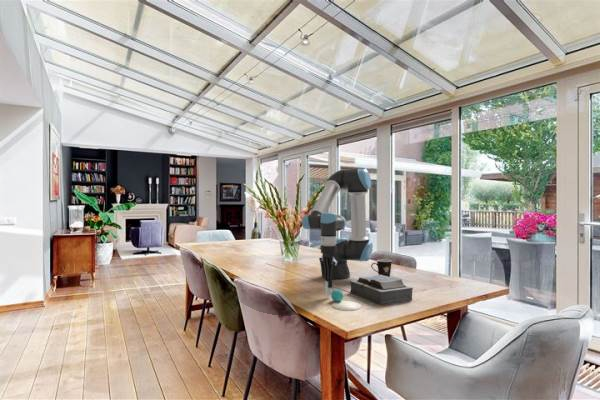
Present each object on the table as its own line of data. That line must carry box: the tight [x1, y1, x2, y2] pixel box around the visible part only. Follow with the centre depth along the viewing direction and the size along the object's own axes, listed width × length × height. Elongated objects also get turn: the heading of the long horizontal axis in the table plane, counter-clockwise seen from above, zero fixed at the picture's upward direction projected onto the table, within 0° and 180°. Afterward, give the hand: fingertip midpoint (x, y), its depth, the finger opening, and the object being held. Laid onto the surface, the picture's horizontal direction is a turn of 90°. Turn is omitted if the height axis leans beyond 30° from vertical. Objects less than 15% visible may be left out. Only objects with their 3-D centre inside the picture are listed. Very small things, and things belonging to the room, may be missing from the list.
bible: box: [349, 274, 413, 306], centre depth 170 cm, size 23×27×10 cm
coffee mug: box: [371, 258, 392, 277], centre depth 211 cm, size 12×9×10 cm
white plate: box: [331, 300, 362, 312], centre depth 155 cm, size 13×13×1 cm
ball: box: [330, 288, 344, 302], centre depth 161 cm, size 6×6×6 cm
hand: (328, 294), depth 167 cm, fingers closed
